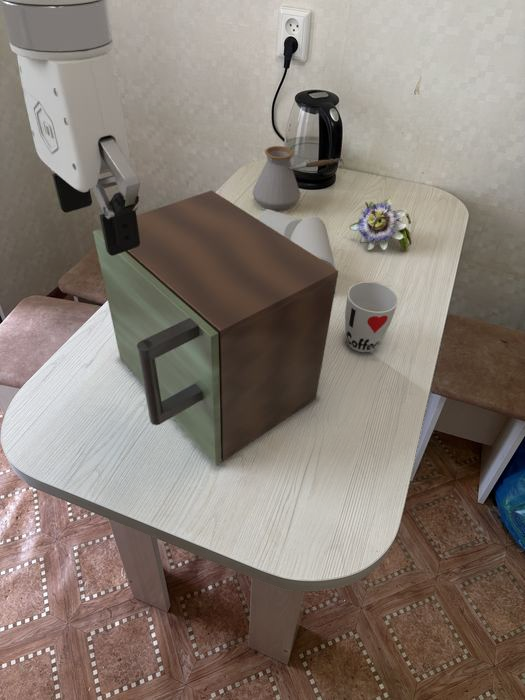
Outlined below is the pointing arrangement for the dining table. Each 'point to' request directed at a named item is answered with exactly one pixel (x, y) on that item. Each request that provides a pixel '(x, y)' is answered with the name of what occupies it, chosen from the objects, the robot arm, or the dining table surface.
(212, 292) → the cabinet
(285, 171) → the coffee pot
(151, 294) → the cabinet door
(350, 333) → the cup
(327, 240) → the elbow connector
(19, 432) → the dining table surface
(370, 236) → the passion flower
